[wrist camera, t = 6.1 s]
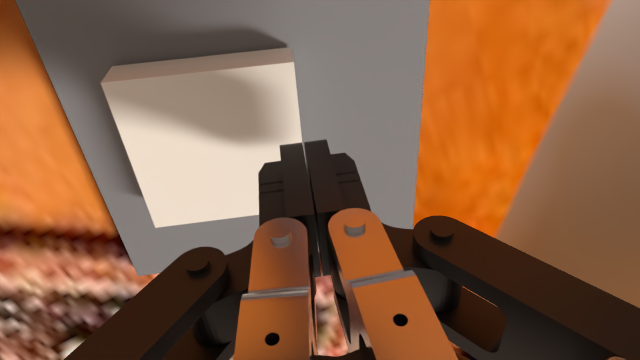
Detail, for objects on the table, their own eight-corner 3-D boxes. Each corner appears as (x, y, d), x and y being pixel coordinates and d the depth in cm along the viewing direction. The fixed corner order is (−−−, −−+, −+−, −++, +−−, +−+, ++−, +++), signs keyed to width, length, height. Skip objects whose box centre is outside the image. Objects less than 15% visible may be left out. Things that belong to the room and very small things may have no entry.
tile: (290, 45, 15) (113, 64, 15) (294, 62, 14) (100, 83, 14) (305, 185, 19) (162, 203, 19) (309, 208, 18) (155, 227, 17)
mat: (-6, -67, 13) (-14, -64, 13) (432, -105, 14) (437, -104, 13) (140, 267, 21) (138, 275, 21) (409, 232, 22) (411, 239, 22)
